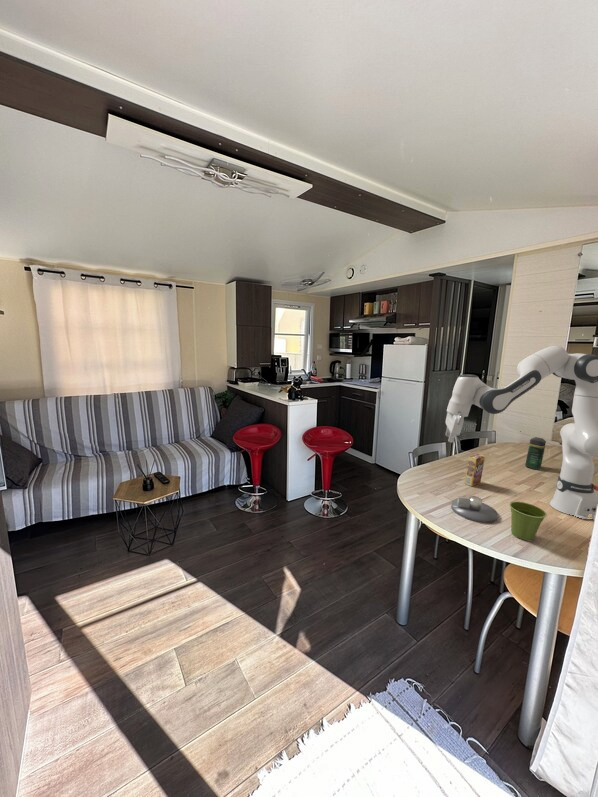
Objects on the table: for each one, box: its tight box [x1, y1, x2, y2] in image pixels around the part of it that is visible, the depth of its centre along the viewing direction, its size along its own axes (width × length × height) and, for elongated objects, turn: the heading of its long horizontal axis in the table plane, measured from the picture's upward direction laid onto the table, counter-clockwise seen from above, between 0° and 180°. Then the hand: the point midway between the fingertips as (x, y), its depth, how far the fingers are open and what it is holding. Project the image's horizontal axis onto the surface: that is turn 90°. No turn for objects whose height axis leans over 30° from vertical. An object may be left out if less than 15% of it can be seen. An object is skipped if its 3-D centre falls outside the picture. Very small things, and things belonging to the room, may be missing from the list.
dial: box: [457, 495, 483, 511], centre depth 144 cm, size 10×5×4 cm, turn 82°
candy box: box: [464, 453, 486, 487], centre depth 173 cm, size 9×4×15 cm, turn 123°
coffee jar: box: [524, 436, 547, 470], centre depth 202 cm, size 10×8×19 cm
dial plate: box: [450, 498, 499, 524], centre depth 144 cm, size 18×18×2 cm
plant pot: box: [509, 501, 548, 542], centre depth 127 cm, size 12×12×11 cm
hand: (448, 439), depth 149 cm, fingers open, 8 cm apart
